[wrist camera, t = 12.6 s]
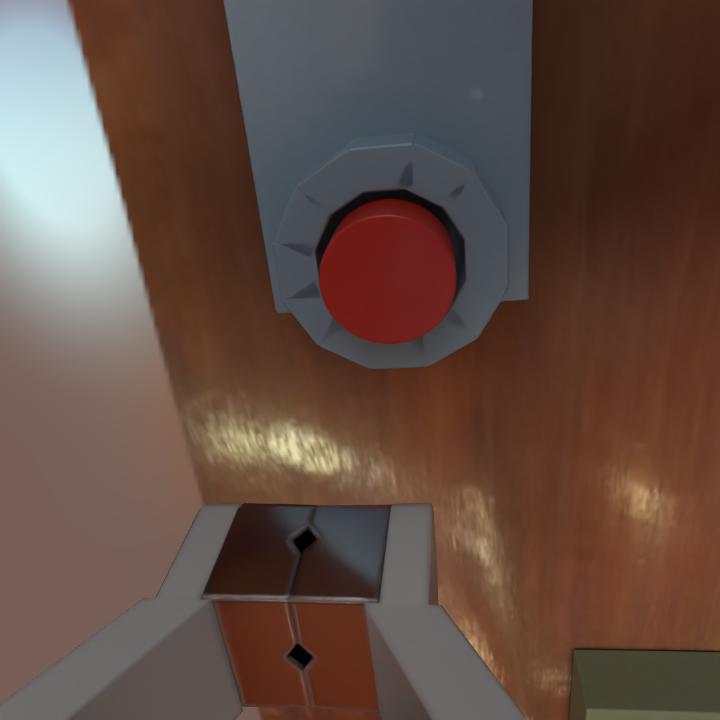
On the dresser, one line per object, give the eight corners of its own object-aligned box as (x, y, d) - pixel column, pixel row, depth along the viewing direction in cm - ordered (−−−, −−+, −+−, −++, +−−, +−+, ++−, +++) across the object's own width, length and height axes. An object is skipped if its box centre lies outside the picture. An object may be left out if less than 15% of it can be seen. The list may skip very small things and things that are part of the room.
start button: (320, 202, 18) (309, 219, 17) (452, 192, 18) (454, 209, 16) (335, 322, 20) (327, 348, 18) (457, 316, 19) (458, 342, 18)
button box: (193, -321, 16) (125, -416, 13) (527, -385, 15) (554, -509, 12) (294, 321, 24) (269, 374, 20) (520, 310, 23) (535, 363, 19)
